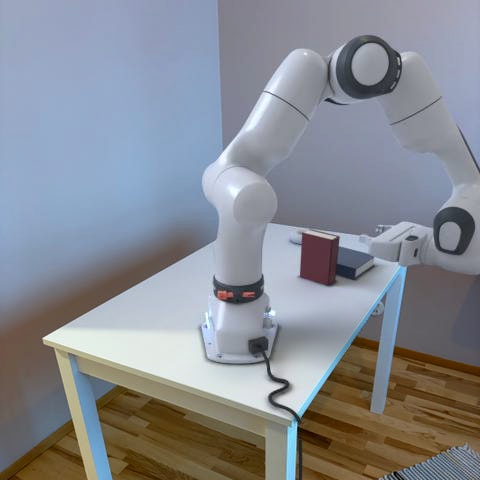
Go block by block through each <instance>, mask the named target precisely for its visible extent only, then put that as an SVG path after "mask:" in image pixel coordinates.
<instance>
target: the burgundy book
mask: <svg viewBox="0 0 480 480" xmlns="http://www.w3.org/2000/svg"><path fill="white" fill-rule="evenodd" d="M308 229H309V231H306V232H302V244H300V246H301V248H300V265H299V278H302V279H305V280H308V281H311V282H314V283H317V284H321V285H325V286H327V287H328V286H330V285H332V284H334V283H335V282H336V281H337V280H336V279H337V274H336V270H337V260H338V249H339V246H340V237H341V236H340V235H336V234H333V233H328V232H324V231H320V230H316V229H312V228H308Z"/></svg>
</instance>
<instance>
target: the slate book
mask: <svg viewBox="0 0 480 480" xmlns="http://www.w3.org/2000/svg"><path fill="white" fill-rule="evenodd" d="M374 263H375V257H373V256H371V255H370V254H369V253H368V252H363V251H359V250H356V249H353V248H348V247H345V246H340V245H339V249H338V260H337V270H336V276H337V275H338V276H340V277H344V278H348V279H351V280H356V279H358V278H359V277H361V276H362V275H363V274H365V273H366V272H368V271H369V270H371V269H372V268H374V267H375V264H374Z"/></svg>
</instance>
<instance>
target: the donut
mask: <svg viewBox="0 0 480 480" xmlns="http://www.w3.org/2000/svg"><path fill="white" fill-rule="evenodd" d="M309 229H310V228H296V229H293V231H290V234H289V239H290V241H291V242H293V243H294V244H297V245H302V232H306V231H309Z"/></svg>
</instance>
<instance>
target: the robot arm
mask: <svg viewBox="0 0 480 480" xmlns="http://www.w3.org/2000/svg"><path fill="white" fill-rule="evenodd" d="M370 99H372V100H374V101H375V103H377V104H378V106H380V108H381V110H383V112H384V116H385V118H386V121H387V123H388V126H389V128H390V130H391V133H392V135H393V137H394V139H395V141H396V143H398V145H399V146H400V148H401V149H403V150H404V151H406V152H409V153H412V154H432V155H434V156H436V157H437V158H438V160H439V161H440V163H441V165H442V167H443V169H444V171H445V173H446V174H447V176H448V178H449V180H450V181H451V185H452V193H451V196H450V197H449V199H447V201H446V202H445V203H444V204H443V205H442V206H441V207H440V209H439V210H438V211H437V213H436V214H435V217H434V218H433V222H432V227H427V226H424V225H422V224H418V223H414V222H410V221H401V222H399V223H397V224H395V225H383V224H378V225H376V227H375V232H376V233H378V235H377V236H376V237H370V236H369V234H365V233H363V234H361V235H359V237H358V242H359V243H361V244H365V245H366V246H368V250H367V251H368V252H367V253H368V254H370V255H371V256H373V257H374V258H377V259H379V260H383V261H385V262H390V263H398V266H399V267H403V268H406V267H411V266H414V265H415V266H416V265H424V266H428V267H433V266H435V267H438V268H441V269H442V270H444V271H448V272H451V273H457V274H461V275H468V276H477V275H480V166H479V163H478V162H477V160H476V157H475V156H474V154H473V152H472V149H471V147H470V145H469V143H468V141H467V140H466V137H465V136H464V134H463V132H462V130H461V129H460V127H459V125H458V124H457V122H456V121H455V120H454V118H453V117H452V114H451V112H450V110H449V108H448V106H447V103H446V100H445V98H444V95H443V93H442V91H441V88H440V86H439V84H438V82H437V80H436V78H435V76H434V74H433V72H432V70H431V69H430V67H429V65H428V64H427V63H426V61H425V59H424V58H423V56H422V55H421V54H420V53H418V52H416V51H403V52H400V53H399V52H398V51H397V50H395V49H394V48H393V47H391V45H390V44H389V43H388V42H387V41H386V40H384V39H383V38H381V37H380V36H377V35H374V34H363V35H358V36H356V37H353V38H352V39H350V40H349V41H347V42H345V43H343V44H342V45H340V46H339V47H338V48H336V49H334V51H333V52H331V53H330V54H329V55H328V56H324V55H321V54H319V53H318V52H316V51H314V50H312V49H310V48H301V47H300V48H296V49H294V50H292V51H291V52H290V53H288V55H287V56H286V57H285V58H284V59H283V61H282V62H281V64H280V65H279V66H278V68H276V70H275V72H274V73H273V75H272V76H271V77H270V79H269V81H268V82H267V84H266V85H265V86H264V89H263V91H262V93H261V94H260V96H259V98H258V99H257V102H256V103H255V105H254V107H253V108H252V110H251V112H250V114H249V116H248V117H247V119H246V121H245V122H244V124H243V125H242V127H241V129H240V130H239V131H238V133H237V134H236V135H235V137H234V138H233V139H232V141H231V142H230V143H229V144H228V145H227V146H226V147H225V149H224V150H223V152H222V153H220V156H219V157H218V158H217V159H216V160H215V161H213V162H212V163H211V164H210V165H208V166H207V167H206V168H205V170H204V172H203V174H202V177H201V187H202V190H203V194H204V197H205V199H206V200H207V202H208V203H209V204H210V206H212V207H213V208H214V209H215V210H216V212H217V215H218V230H217V235H216V239H215V240H214V243H213V246H212V247H213V249H212V250H213V262H214V263H213V267H214V268H213V270H214V274H213V276H212V289H213V292H212V293H211V294H210V295H209V296H208V312H205V318H206V320H205V321H204V322H202V323H201V333H202V338H203V342H204V346H205V352H206V356H207V357H206V358H207V359H208V360H210V361H213V362H217V363H222V364H237V365H238V364H239V365H240V364H252V363H253V364H254V363H260V362H263V361H264V362H265V365H266V372H267V375H268V377H269V378H270V379H271V380H272V381H275V382H279V383H284V384H285V385H284V386H282V387H280V388H278V389H275V390H273V391H271V392H270V393H269V394H268V396H267V401H268V403H269V404H270V405H271V406H274V407H276V408H279V409H282V410H285V411H286V412H288V413H290V414H291V415H292V416H293V417H294V419H295V420H296V423H297V424H299V425H301V424H302V420H301V418H300V416H299V415H298V413H297V412H296V411H295V410H294V409H293V408H291V407H289V406H287V405H284V404H280V403H279V402H275V401H274V400H273V396H275V395H277V394H280V393H281V392H284V391H286V390H287V389H288V388H289V386H290V382H289V380H287V379H285V378H282V377H281V378H280V377H276V376H275V375H273V374H272V371H271V363H270V360H269V358H270V356H271V353H272V350H273V346H274V342H275V338H276V335H277V331H278V328H279V327H278V323H277V322H276V321H274V320H272V318H271V316H276V311H274V310H272V306H270V305H271V303H270V301H271V300H270V299H271V298H270V297H271V296H270V295H268V294H267V293H266V292H265V276H264V273H263V247H264V240H265V235H266V231H267V229H268V228H267V227H268V224H270V223H271V222H272V221H273V219H274V218H275V215H276V213H277V210H278V198H277V197H278V196H277V194H276V192H275V190H274V188H273V187H272V185H271V184H270V183H269V182H268V180H267V179H266V176H267V175H268V174H270V172H271V171H272V170H273V169H274V168H275V167H276V166H278V165H279V164H280V163H282V162H284V161H285V160H286V159H287V158H289V156H290V155H291V154H292V152H293V150H294V148H295V147H296V145H297V143H298V142H299V140H300V138H301V137H302V135H303V134H304V132H305V130H306V128H307V126H308V125H309V123H310V121H311V120H312V118H313V116H314V114H315V112H316V111H317V109H318V108H319V106H321V104H322V103H323V102H327V103H330V104H334V105H337V106H349V105H356V104H359V103H362V102H364V101H367V100H370ZM297 444H298V445H297V449H298V451H297V452H298V480H303V439H298V442H297Z"/></svg>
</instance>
